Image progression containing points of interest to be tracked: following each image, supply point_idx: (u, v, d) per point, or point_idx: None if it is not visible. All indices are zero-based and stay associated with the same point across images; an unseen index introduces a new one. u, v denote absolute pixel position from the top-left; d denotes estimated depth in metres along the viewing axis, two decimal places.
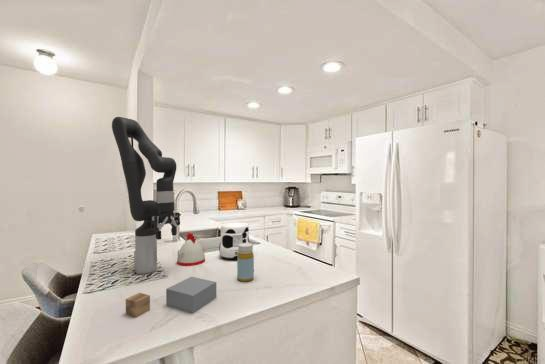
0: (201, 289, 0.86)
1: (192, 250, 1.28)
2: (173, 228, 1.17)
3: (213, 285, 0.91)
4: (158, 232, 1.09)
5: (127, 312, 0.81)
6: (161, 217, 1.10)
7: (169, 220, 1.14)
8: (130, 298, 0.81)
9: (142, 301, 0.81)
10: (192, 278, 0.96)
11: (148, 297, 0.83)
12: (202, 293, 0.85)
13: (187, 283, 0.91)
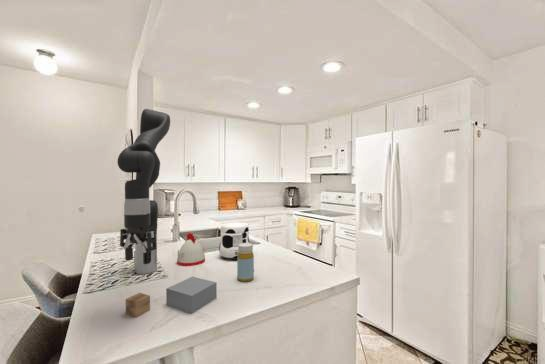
0: (200, 289, 0.86)
1: (192, 250, 1.28)
2: (130, 250, 0.84)
3: (212, 285, 0.90)
4: None
5: (127, 312, 0.81)
6: None
7: None
8: (130, 298, 0.81)
9: (142, 301, 0.81)
10: (193, 278, 0.96)
11: (148, 297, 0.83)
12: (201, 293, 0.85)
13: (188, 283, 0.91)
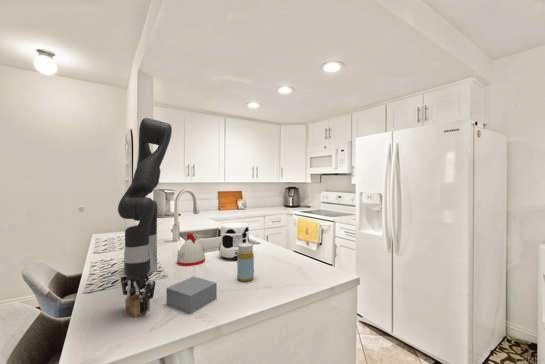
0: (200, 290, 0.86)
1: (192, 250, 1.28)
2: None
3: (212, 286, 0.90)
4: None
5: (127, 312, 0.81)
6: None
7: None
8: (130, 298, 0.81)
9: None
10: (194, 278, 0.96)
11: None
12: (200, 293, 0.85)
13: (188, 282, 0.92)
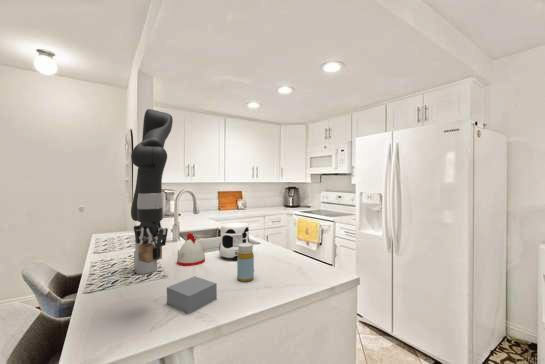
0: (199, 290, 0.85)
1: (192, 250, 1.28)
2: None
3: (212, 286, 0.90)
4: None
5: (140, 258, 0.82)
6: None
7: None
8: (143, 245, 0.83)
9: None
10: (195, 278, 0.96)
11: None
12: (199, 294, 0.85)
13: (188, 282, 0.92)
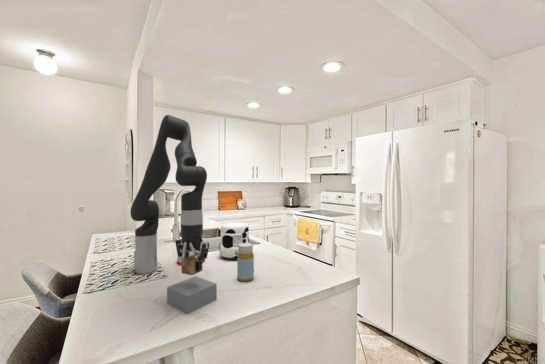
0: (198, 290, 0.85)
1: None
2: None
3: (212, 286, 0.89)
4: None
5: (183, 271, 0.88)
6: None
7: None
8: (185, 258, 0.88)
9: None
10: (195, 278, 0.96)
11: None
12: (199, 294, 0.85)
13: (189, 282, 0.92)
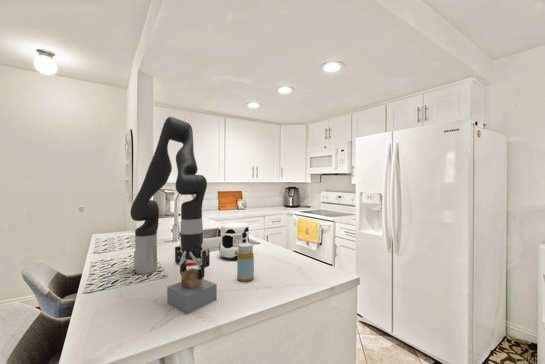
0: (198, 290, 0.85)
1: None
2: (184, 266, 0.91)
3: (212, 287, 0.89)
4: None
5: (183, 285, 0.88)
6: None
7: None
8: (185, 272, 0.89)
9: (196, 275, 0.88)
10: None
11: None
12: (198, 294, 0.84)
13: None
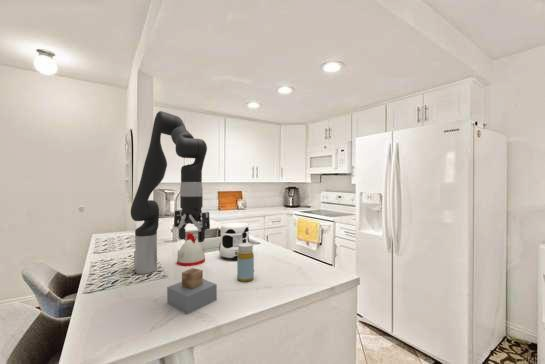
0: (198, 290, 0.85)
1: (192, 250, 1.28)
2: (183, 230, 0.91)
3: (212, 287, 0.89)
4: None
5: (183, 284, 0.88)
6: None
7: None
8: (186, 272, 0.89)
9: (197, 275, 0.88)
10: None
11: (201, 271, 0.90)
12: (198, 294, 0.84)
13: None
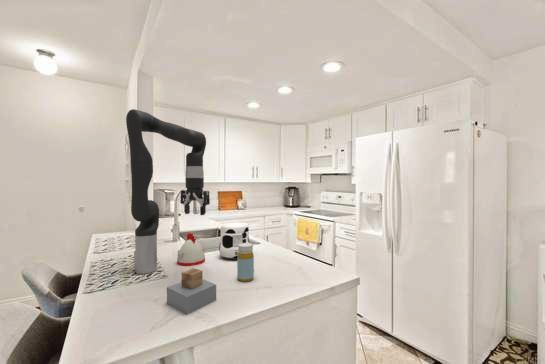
0: (198, 291, 0.85)
1: (192, 250, 1.28)
2: (188, 206, 1.11)
3: (212, 287, 0.89)
4: None
5: (183, 284, 0.88)
6: None
7: None
8: (185, 272, 0.89)
9: (196, 275, 0.88)
10: None
11: (201, 272, 0.90)
12: (198, 294, 0.84)
13: None
